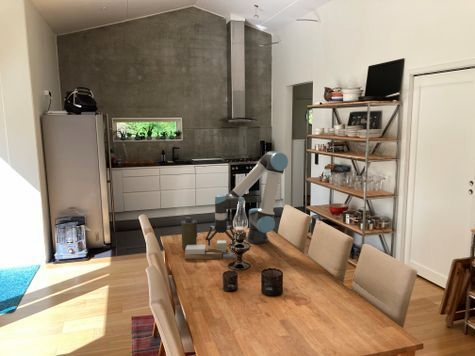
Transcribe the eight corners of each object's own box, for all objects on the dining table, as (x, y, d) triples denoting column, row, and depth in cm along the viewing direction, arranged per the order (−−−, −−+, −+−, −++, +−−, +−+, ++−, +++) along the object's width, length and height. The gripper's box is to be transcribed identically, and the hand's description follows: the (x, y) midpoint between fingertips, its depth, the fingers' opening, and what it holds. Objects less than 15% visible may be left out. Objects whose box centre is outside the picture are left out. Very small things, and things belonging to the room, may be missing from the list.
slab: (187, 249, 244) (186, 244, 244) (205, 249, 245) (205, 244, 244) (185, 254, 236) (185, 249, 235) (204, 253, 236) (204, 249, 235)
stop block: (217, 249, 254) (217, 240, 253) (226, 249, 254) (226, 240, 253) (216, 252, 248) (216, 243, 247) (226, 252, 248) (226, 243, 247)
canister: (179, 247, 257) (178, 218, 254) (185, 243, 267) (184, 215, 264) (194, 249, 254) (193, 220, 251) (200, 244, 264) (199, 216, 261)
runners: (186, 253, 245) (186, 249, 244) (222, 253, 245) (222, 248, 245) (184, 258, 236) (184, 254, 236) (221, 258, 236) (221, 253, 236)
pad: (223, 252, 246) (223, 252, 246) (235, 252, 246) (235, 252, 246) (222, 258, 236) (222, 257, 236) (235, 258, 236) (235, 257, 236)
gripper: (201, 220, 244) (201, 252, 247) (240, 220, 244) (240, 251, 247) (202, 217, 251) (202, 248, 254) (240, 217, 252) (240, 248, 255)
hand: (221, 250), depth 251 cm, fingers open, 13 cm apart
